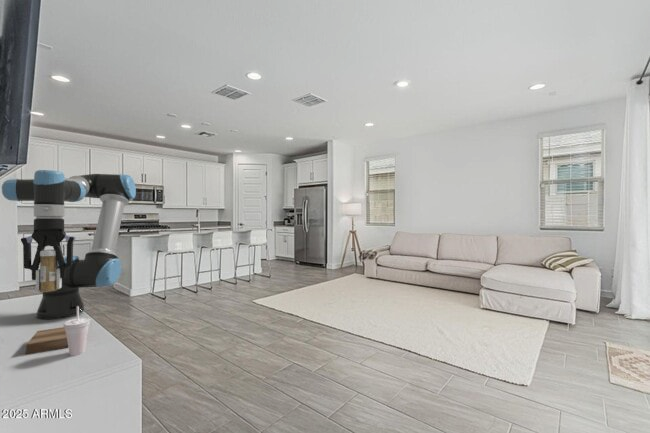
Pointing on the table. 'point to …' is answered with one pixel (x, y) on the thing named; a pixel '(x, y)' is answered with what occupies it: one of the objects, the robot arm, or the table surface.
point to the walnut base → (47, 340)
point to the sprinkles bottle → (48, 271)
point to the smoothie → (77, 334)
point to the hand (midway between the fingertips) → (49, 288)
